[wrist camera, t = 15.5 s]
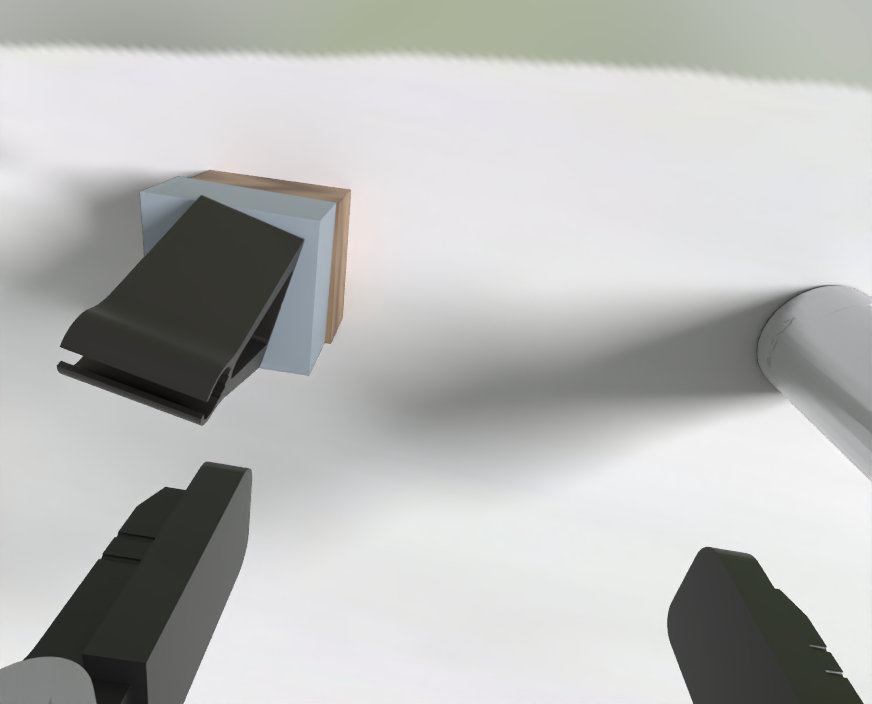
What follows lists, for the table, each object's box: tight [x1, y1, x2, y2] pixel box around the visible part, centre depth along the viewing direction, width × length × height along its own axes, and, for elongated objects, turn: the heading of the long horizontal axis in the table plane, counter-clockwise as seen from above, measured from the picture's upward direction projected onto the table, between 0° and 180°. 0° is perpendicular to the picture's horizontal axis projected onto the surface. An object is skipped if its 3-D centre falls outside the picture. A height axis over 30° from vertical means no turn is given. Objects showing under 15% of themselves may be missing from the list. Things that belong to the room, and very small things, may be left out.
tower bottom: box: [192, 170, 351, 344], centre depth 41 cm, size 10×10×5 cm
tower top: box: [140, 176, 336, 376], centre depth 37 cm, size 10×10×5 cm
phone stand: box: [57, 195, 305, 426], centre depth 29 cm, size 9×6×12 cm, turn 155°
